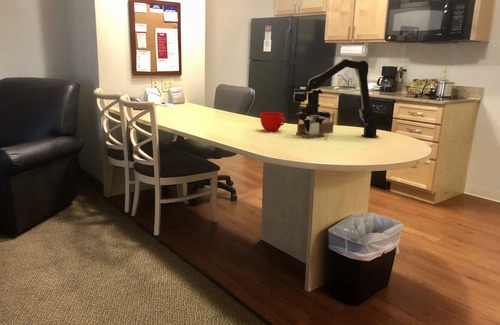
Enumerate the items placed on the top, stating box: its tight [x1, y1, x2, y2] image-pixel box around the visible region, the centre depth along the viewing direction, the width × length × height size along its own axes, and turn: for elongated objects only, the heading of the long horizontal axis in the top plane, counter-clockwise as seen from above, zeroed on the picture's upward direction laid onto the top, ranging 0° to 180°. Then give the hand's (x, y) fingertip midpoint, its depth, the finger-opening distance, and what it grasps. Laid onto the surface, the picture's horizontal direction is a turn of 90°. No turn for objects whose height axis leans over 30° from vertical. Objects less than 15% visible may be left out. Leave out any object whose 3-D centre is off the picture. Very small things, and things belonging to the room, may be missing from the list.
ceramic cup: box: [259, 111, 286, 133], centre depth 222 cm, size 13×17×10 cm
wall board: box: [295, 121, 334, 140], centre depth 211 cm, size 10×23×6 cm, turn 113°
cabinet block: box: [305, 121, 319, 135], centre depth 209 cm, size 6×5×7 cm
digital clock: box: [309, 109, 332, 122], centre depth 230 cm, size 16×9×11 cm, turn 16°
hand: (312, 131), depth 209 cm, fingers closed on cabinet block, 5 cm apart
